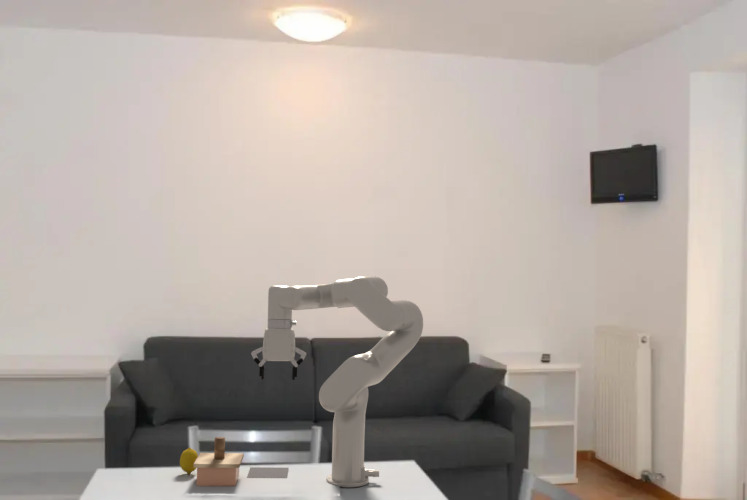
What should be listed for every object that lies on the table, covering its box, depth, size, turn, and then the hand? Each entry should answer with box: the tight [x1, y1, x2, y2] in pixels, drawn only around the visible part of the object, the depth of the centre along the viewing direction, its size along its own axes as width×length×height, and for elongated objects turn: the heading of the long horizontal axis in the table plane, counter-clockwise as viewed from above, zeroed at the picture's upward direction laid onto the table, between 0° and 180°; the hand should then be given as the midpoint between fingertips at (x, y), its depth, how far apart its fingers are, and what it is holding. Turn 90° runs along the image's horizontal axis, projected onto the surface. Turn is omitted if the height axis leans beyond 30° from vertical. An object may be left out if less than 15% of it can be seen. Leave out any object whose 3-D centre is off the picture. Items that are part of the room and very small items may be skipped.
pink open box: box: [196, 467, 240, 487], centre depth 234 cm, size 11×11×6 cm
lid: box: [193, 436, 245, 469], centre depth 234 cm, size 13×13×7 cm
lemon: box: [179, 447, 199, 475], centre depth 242 cm, size 6×6×8 cm
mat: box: [246, 466, 289, 479], centre depth 244 cm, size 12×12×1 cm
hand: (278, 379), depth 250 cm, fingers open, 9 cm apart
